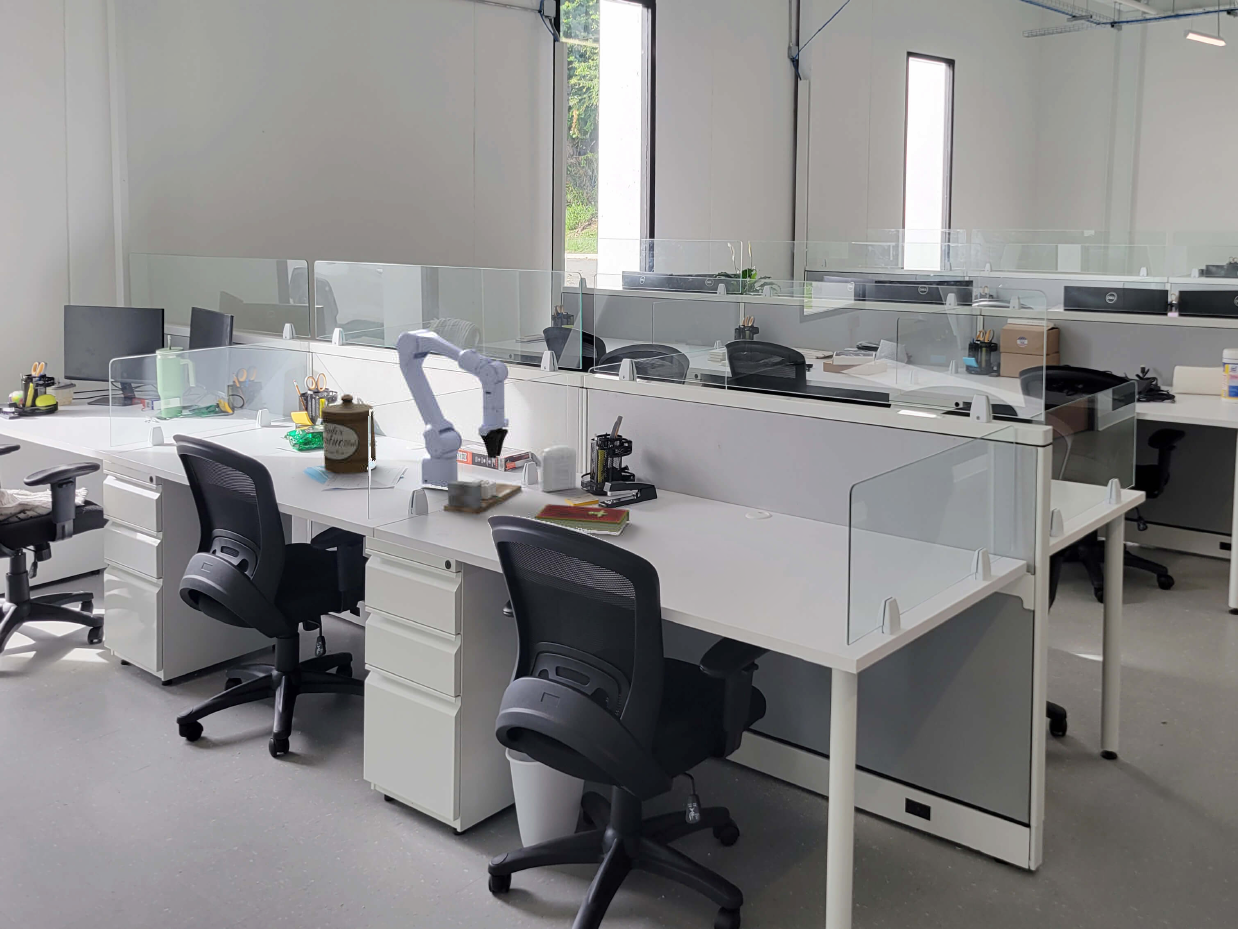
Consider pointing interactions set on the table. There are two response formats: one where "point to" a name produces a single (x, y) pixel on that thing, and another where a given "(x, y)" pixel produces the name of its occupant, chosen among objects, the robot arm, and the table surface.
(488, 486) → the gauge
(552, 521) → the hardcover book
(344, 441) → the wooden container
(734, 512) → the table surface
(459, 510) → the test bench
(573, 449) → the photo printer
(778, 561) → the table surface
